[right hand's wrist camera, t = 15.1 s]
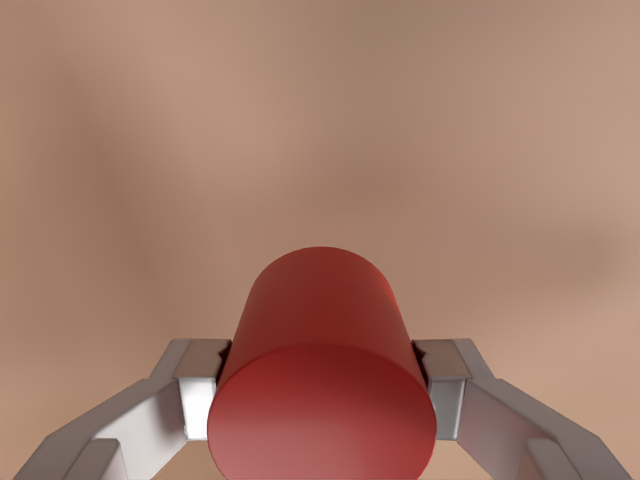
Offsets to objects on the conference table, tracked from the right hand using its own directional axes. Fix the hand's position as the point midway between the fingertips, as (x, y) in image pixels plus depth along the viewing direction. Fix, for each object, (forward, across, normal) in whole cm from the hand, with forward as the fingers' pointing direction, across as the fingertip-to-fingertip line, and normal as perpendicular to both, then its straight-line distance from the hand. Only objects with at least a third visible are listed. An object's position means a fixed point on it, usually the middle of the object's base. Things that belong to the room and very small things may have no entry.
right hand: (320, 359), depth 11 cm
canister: (+2, 0, 0) cm, 2 cm away
